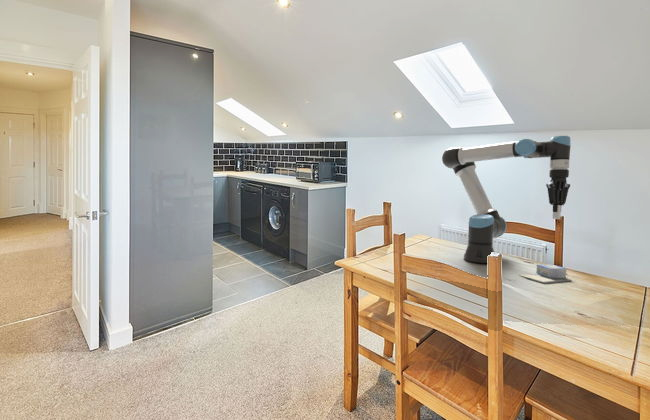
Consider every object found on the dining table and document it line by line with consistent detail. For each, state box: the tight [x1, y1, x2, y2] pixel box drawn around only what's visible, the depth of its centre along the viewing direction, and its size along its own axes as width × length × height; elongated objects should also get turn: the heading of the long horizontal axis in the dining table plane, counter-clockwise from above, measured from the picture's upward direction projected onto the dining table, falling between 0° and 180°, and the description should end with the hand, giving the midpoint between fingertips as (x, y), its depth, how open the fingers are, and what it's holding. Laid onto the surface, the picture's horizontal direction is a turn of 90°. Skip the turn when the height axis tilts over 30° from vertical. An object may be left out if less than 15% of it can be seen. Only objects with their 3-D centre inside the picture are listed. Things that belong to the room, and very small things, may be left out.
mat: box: [519, 274, 573, 285], centre depth 154 cm, size 14×16×1 cm
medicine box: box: [536, 264, 567, 279], centre depth 156 cm, size 8×4×9 cm
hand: (556, 218), depth 162 cm, fingers closed
